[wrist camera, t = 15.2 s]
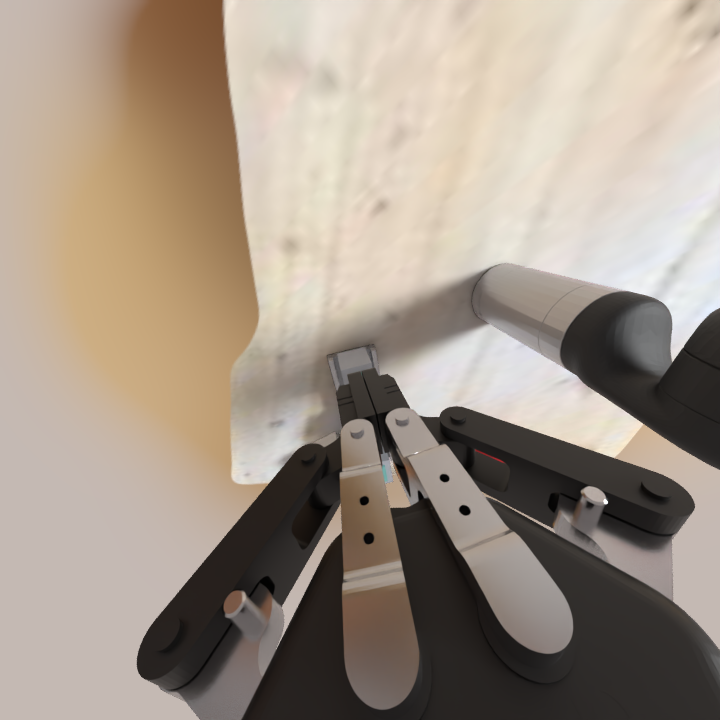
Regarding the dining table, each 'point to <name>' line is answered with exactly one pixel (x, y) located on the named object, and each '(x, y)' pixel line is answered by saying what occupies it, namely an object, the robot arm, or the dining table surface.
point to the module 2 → (386, 467)
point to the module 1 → (353, 362)
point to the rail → (337, 372)
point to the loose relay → (327, 439)
